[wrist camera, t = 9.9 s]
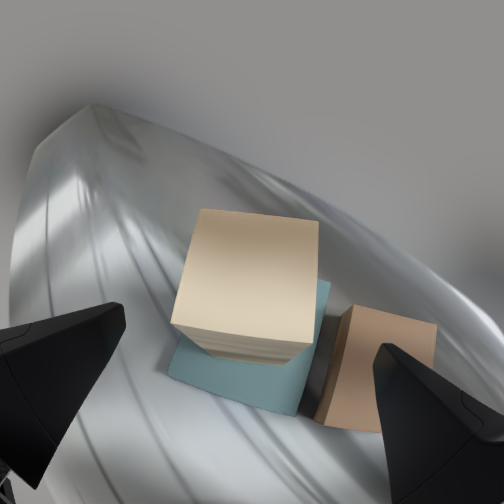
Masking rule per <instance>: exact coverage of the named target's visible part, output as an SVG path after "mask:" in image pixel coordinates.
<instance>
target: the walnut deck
mask: <svg viewBox="0 0 504 504" xmlns="http://www.w3.org/2000/svg"><path fill="white" fill-rule="evenodd" d="M436 330H437V325H435V324H431V323H427V322H423V321H419V320H415V319H411V318H406V317H402V316H398V315H394V314H390V313H386V312H382V311H379V310H375V309H371V308H367V307H363V306H359V305H355V304H354V305H352V306H351V307H350V308H349V309H348V310H347V311H346V312H345V313H344V314H343V315H342V316H341V317H340V322H339V327H338V331H337V336H336V340H335V344H334V349H333V353H332V357H331V361H330V365H329V368H328V372H327V376H326V380H325V383H324V387H323V390H322V394H321V397H320V400H319V404H318V407H317V410H316V413H315V416H314V419H313V420H314V421H316V422H318V423H320V424H322V425H325V426H330V427H337V428H343V429H351V430H359V431H368V432H378V433H382V430H381V424H380V419H379V414H378V409H377V404H376V396H375V386H374V377H373V368H372V367H373V361H374V359H375V356H376V354H377V352H378V349H379V347H380V345H381V344H382V343H393V344H395V345H396V346H398V347H399V348H401V349H402V350H404V351H405V352H407V353H408V354H410V355H411V356H412V357H414V358H415V359H417V360H418V361H420V362H421V363H423V364H424V365H426V366H427V367H429V368H430V369H432V366H433V358H434V350H435V341H436Z"/></svg>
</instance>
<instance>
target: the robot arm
mask: <svg viewBox="0 0 504 504" xmlns="http://www.w3.org/2000/svg"><path fill="white" fill-rule="evenodd" d="M125 328H126V321H125V313H124V307H123V305H122V304H120V303H116V302H110V303H106V304H102V305H98V306H95V307H91V308H87V309H83V310H79V311H76V312H72V313H68V314H64V315H60V316H56V317H52V318H48V319H45V320H41V321H37V322H34V323H29V324H25V325H20V326H16V327H11V328H6V329H2V330H0V504H16V503H15V499H14V495H13V491H12V487H11V482H10V480H9V479H8V478H7V476H8V475H9V473H10V472H11V471H13V472H14V473H15V474H16V475H17V476H18V477H20V478H21V479H22V480H23V481H24V482H25V483H27V484H28V485H29V486H31V487H32V488H33V489H34V490H35V489H37V487H38V485H39V483H40V481H41V479H42V477H43V475H44V473H45V471H46V469H47V467H48V465H49V463H50V461H51V459H52V457H53V455H54V453H55V452H56V450H57V447H58V446H59V444H60V442H61V440H62V438H63V437H64V435H65V433H66V431H67V429H68V428H69V426H70V424H71V422H72V421H73V419H74V417H75V415H76V414H77V412H78V410H79V409H80V407H81V405H82V404H83V402H84V400H85V399H86V397H87V395H88V394H89V392H90V391H91V389H92V387H93V386H94V384H95V382H96V381H97V379H98V378H99V376H100V375H101V373H102V371H103V370H104V368H105V367H106V365H107V363H108V362H109V360H110V358H111V356H112V354H113V352H114V350H115V348H116V346H117V344H118V343H119V341H120V339H121V337H122V335H123V333H124V331H125ZM372 368H373V377H374V386H375V396H376V404H377V409H378V414H379V419H380V424H381V430H382V435H383V441H384V447H385V453H386V459H387V466H388V473H389V481H390V490H391V500H392V504H504V415H502V414H500V413H498V412H496V411H495V410H493V409H491V408H489V407H488V406H486V405H484V404H483V403H481V402H479V401H478V400H476V399H475V398H473V397H472V396H470V395H469V394H467V393H466V392H464V391H463V390H461V389H460V388H458V387H457V386H455V385H454V384H452V383H451V382H449V381H448V380H446V379H445V378H443V377H442V376H441V375H439V374H438V373H436V372H435V371H433V370H432V369H430V368H429V367H427V366H426V365H424V364H423V363H421V362H420V361H418V360H417V359H415V358H414V357H412V356H411V355H410V354H408V353H407V352H405V351H404V350H402V349H401V348H399V347H398V346H396V345H395V344H393V343H382V344H381V345H380V347H379V349H378V352H377V354H376V356H375V359H374V361H373V367H372Z"/></svg>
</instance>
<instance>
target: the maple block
mask: <svg viewBox="0 0 504 504" xmlns="http://www.w3.org/2000/svg"><path fill="white" fill-rule="evenodd" d="M317 268H318V221H311V220H303V219H295V218H287V217H279V216H270V215H262V214H253V213H243V212H233V211H223V210H213V209H202V208H201V209H200V213H199V216H198V219H197V223H196V226H195V229H194V233H193V236H192V240H191V243H190V247H189V250H188V254H187V258H186V261H185V265H184V269H183V273H182V277H181V280H180V284H179V288H178V292H177V296H176V300H175V305H174V309H173V313H172V317H171V322H170V323H171V324H172V325H173V326H175V327H176V328H177V329H178V330H180V331H181V332H182V333H183V334H184V335H186V336H187V337H188V338H189V339H191V340H192V341H193V342H195V343H196V344H197V345H198V346H200V347H201V348H202V349H204V350H205V351H206V352H208V353H209V354H210V355H212V356H213V357H215V358H221V359H227V360H233V361H240V362H247V363H255V364H262V365H271V366H280V367H282V366H283V365H285V364H286V363H287V362H289V361H290V360H291V359H293V358H294V357H295V356H297V355H298V354H299V353H301V352H302V351H303V350H305V349H306V348H307V347H309V346H310V345H311V344H312V343H313V336H314V323H315V308H316V290H317Z"/></svg>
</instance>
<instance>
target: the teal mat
mask: <svg viewBox="0 0 504 504" xmlns="http://www.w3.org/2000/svg"><path fill="white" fill-rule="evenodd" d="M330 284H331V282H327V281H323V280H320V279H317V290H316V308H315V323H314V336H313V343H312V344H311V345H310V346H309V347H307V348H306V349H305V350H303V351H302V352H301V353H299V354H298V355H297V356H295V357H294V358H293V359H291V360H290V361H289V362H287V363H286V364H285V365H283V366H282V367H280V366H271V365H262V364H255V363H247V362H240V361H233V360H227V359H221V358H215V357H213V356H212V355H210V354H209V353H208V352H206V351H205V350H204V349H202V348H201V347H200V346H198V345H197V344H196V343H195V342H193V341H192V340H191V339H189V338H188V337H187V336H186V335H184V334H183V333H182V334H181V337H180V339H179V342H178V345H177V347H176V350H175V352H174V355H173V358H172V360H171V363H170V365H169V368H168V371H167V373H166V375H168V376H170V377H173V378H175V379H178V380H180V381H182V382H185V383H187V384H190V385H192V386H195V387H197V388H200V389H203V390H205V391H208V392H211V393H214V394H217V395H219V396H222V397H225V398H228V399H231V400H234V401H237V402H241V403H244V404H247V405H250V406H254V407H257V408H261V409H265V410H268V411H272V412H276V413H280V414H284V415H288V416H292V417H295V415H296V412H297V409H298V406H299V403H300V400H301V397H302V394H303V390H304V387H305V384H306V380H307V377H308V374H309V370H310V366H311V363H312V359H313V356H314V352H315V348H316V344H317V340H318V336H319V332H320V328H321V324H322V320H323V316H324V311H325V307H326V303H327V298H328V293H329V289H330Z"/></svg>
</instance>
